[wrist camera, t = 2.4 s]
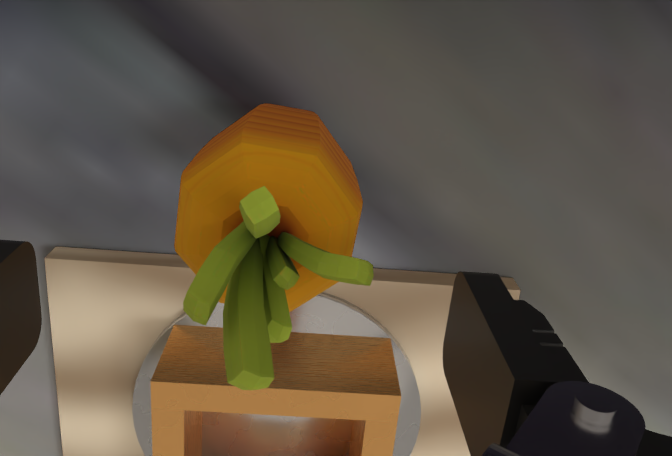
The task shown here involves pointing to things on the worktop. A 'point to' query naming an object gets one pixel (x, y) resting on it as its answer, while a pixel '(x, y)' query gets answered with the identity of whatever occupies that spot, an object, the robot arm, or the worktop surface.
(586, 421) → the robot arm
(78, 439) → the base board
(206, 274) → the carrot
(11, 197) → the worktop surface
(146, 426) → the socket collar
